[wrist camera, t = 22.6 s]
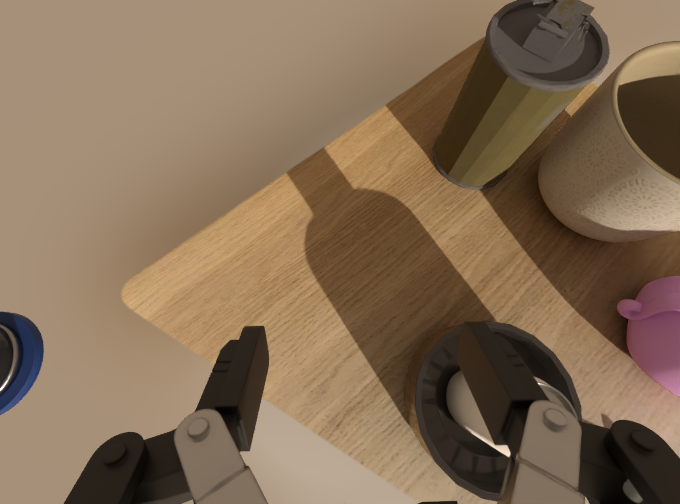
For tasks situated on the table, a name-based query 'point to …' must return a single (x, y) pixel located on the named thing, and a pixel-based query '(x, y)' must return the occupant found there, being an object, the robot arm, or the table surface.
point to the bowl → (440, 427)
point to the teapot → (656, 330)
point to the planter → (621, 153)
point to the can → (470, 416)
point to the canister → (519, 87)
